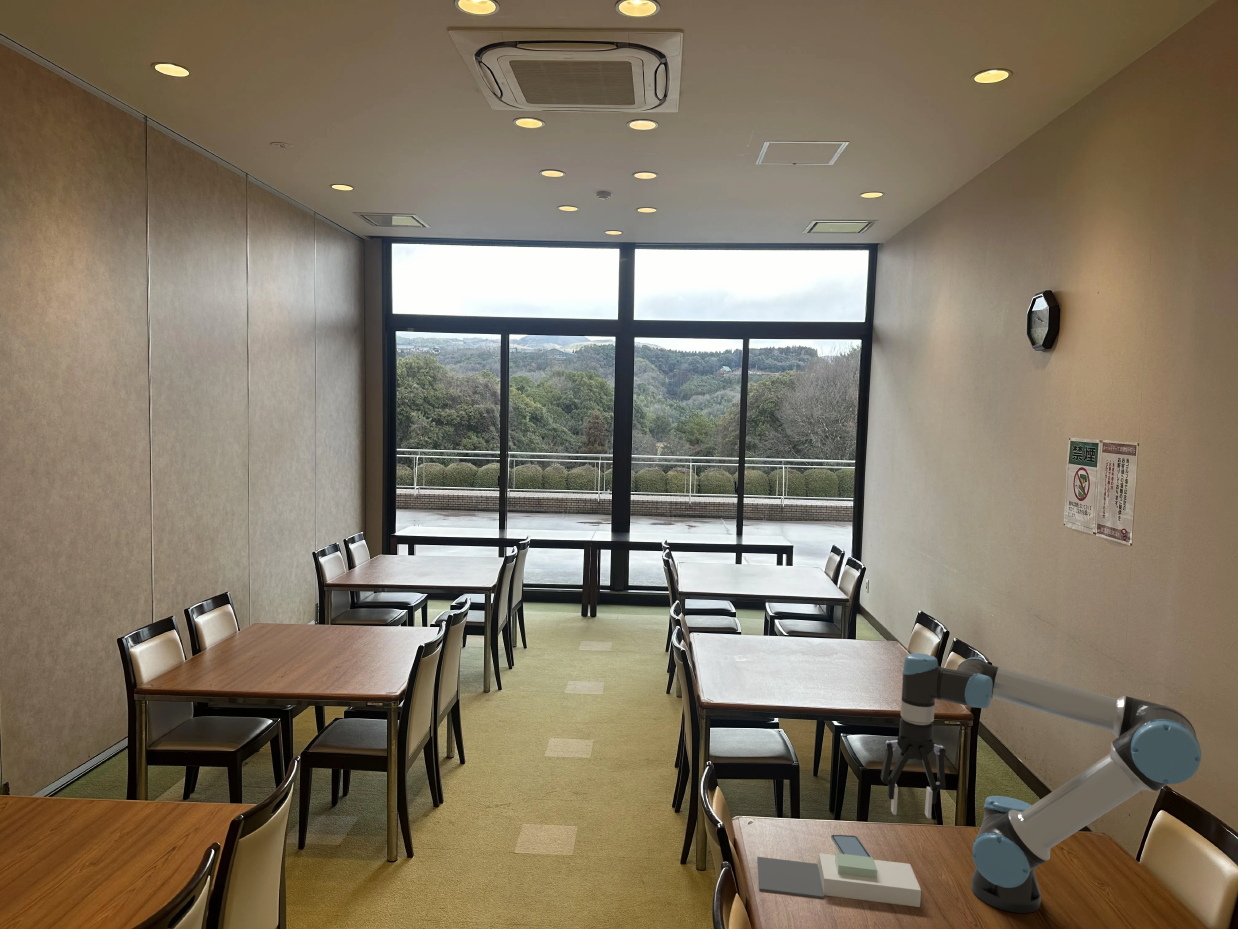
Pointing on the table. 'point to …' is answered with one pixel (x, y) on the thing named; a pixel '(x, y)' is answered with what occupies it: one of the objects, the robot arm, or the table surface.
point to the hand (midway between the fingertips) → (910, 814)
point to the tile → (855, 865)
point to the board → (871, 883)
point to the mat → (789, 877)
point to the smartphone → (849, 845)
